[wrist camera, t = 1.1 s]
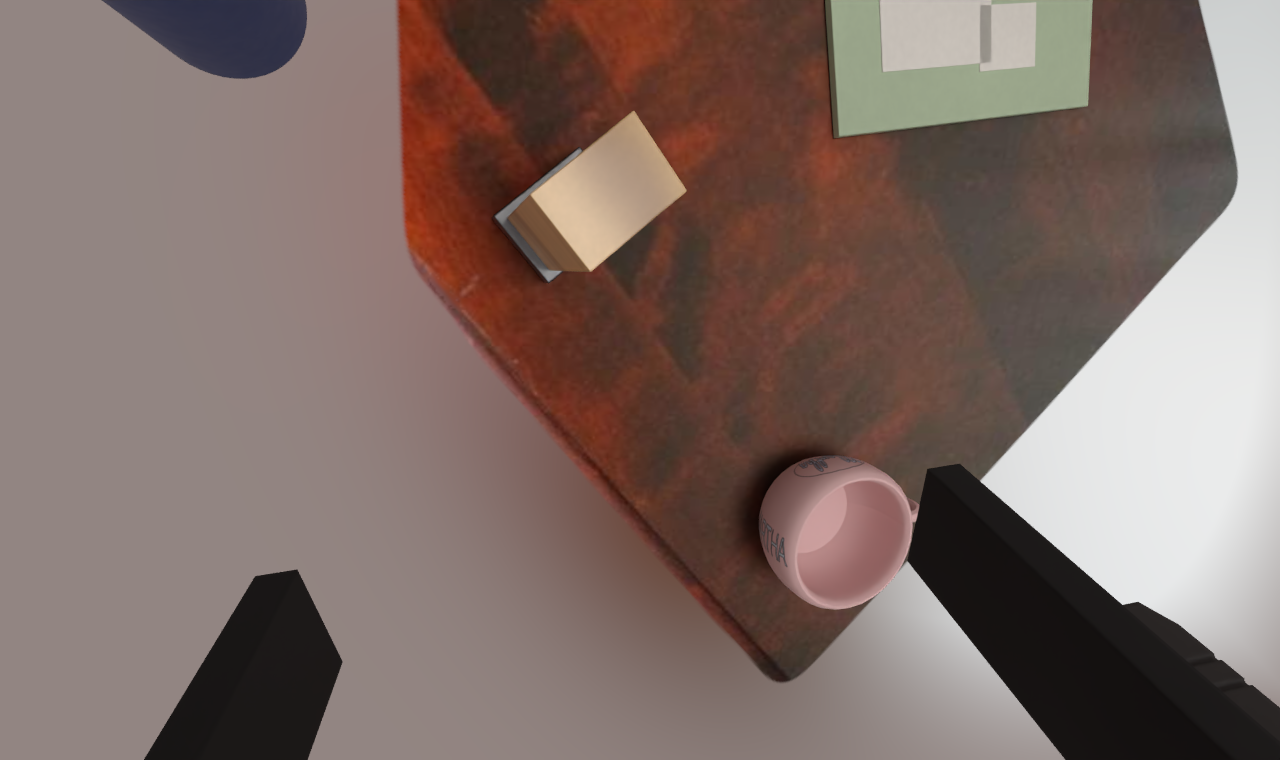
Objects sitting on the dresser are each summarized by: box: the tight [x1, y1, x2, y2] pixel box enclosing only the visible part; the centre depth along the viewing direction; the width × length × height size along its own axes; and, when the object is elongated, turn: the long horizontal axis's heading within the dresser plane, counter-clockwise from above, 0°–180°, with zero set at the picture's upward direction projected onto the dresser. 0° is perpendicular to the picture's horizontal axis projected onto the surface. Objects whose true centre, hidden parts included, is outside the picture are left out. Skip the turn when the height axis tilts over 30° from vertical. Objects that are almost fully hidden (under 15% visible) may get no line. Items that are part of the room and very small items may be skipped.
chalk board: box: [825, 0, 1093, 138], centre depth 37 cm, size 22×12×1 cm, turn 100°
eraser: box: [492, 111, 687, 283], centre depth 26 cm, size 6×4×12 cm
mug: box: [759, 455, 919, 609], centre depth 38 cm, size 12×10×6 cm
